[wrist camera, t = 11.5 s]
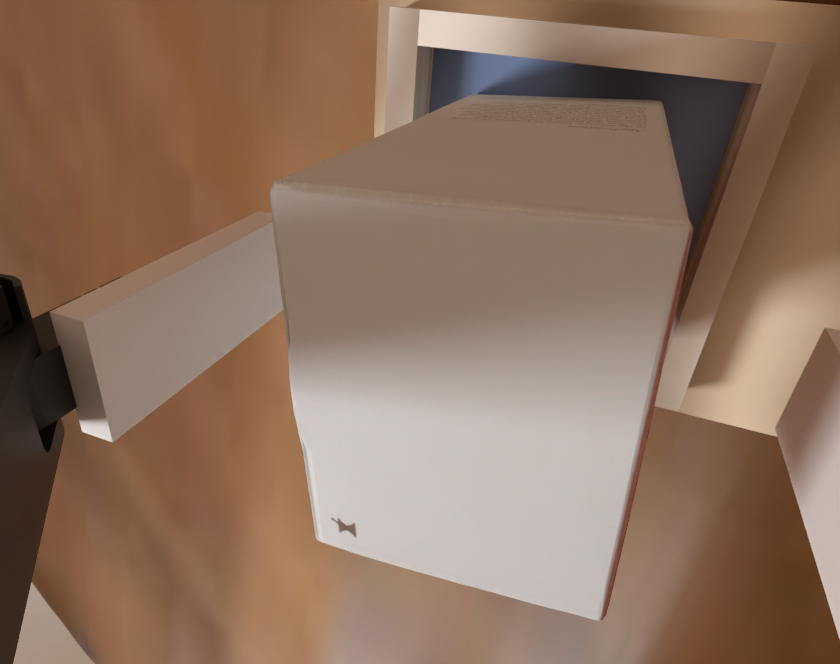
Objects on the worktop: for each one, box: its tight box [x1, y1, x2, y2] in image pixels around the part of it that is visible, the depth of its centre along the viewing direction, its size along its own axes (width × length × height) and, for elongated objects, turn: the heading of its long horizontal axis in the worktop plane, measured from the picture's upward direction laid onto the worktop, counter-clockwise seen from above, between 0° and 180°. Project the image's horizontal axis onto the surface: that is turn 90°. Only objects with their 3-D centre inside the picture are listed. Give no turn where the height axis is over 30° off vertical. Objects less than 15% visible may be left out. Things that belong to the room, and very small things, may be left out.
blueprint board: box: [374, 0, 840, 437], centre depth 18 cm, size 26×14×5 cm, turn 88°
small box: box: [270, 94, 694, 621], centre depth 15 cm, size 8×6×13 cm
